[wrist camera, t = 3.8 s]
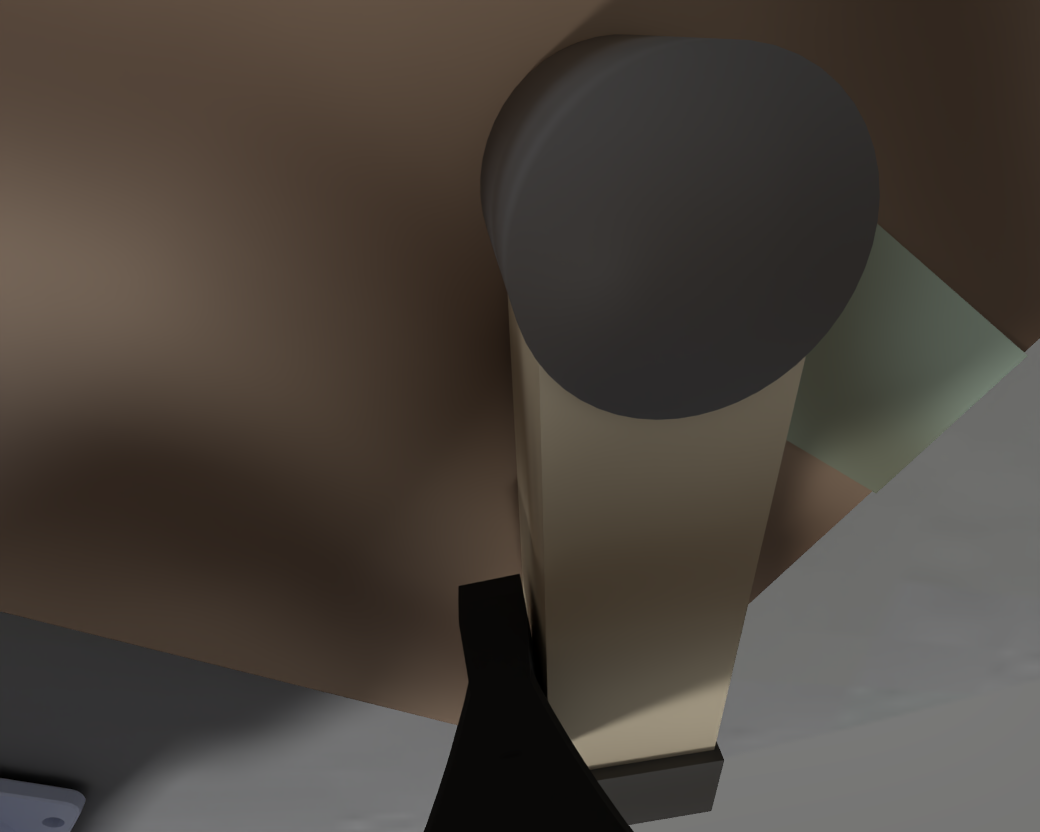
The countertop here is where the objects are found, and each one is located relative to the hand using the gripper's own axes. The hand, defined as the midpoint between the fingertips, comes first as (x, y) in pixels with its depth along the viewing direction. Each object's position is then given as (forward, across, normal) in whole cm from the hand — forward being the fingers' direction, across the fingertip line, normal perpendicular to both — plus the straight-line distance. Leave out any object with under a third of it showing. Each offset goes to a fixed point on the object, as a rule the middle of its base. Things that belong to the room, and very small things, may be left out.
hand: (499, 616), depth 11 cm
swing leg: (+1, -2, -2) cm, 3 cm away
